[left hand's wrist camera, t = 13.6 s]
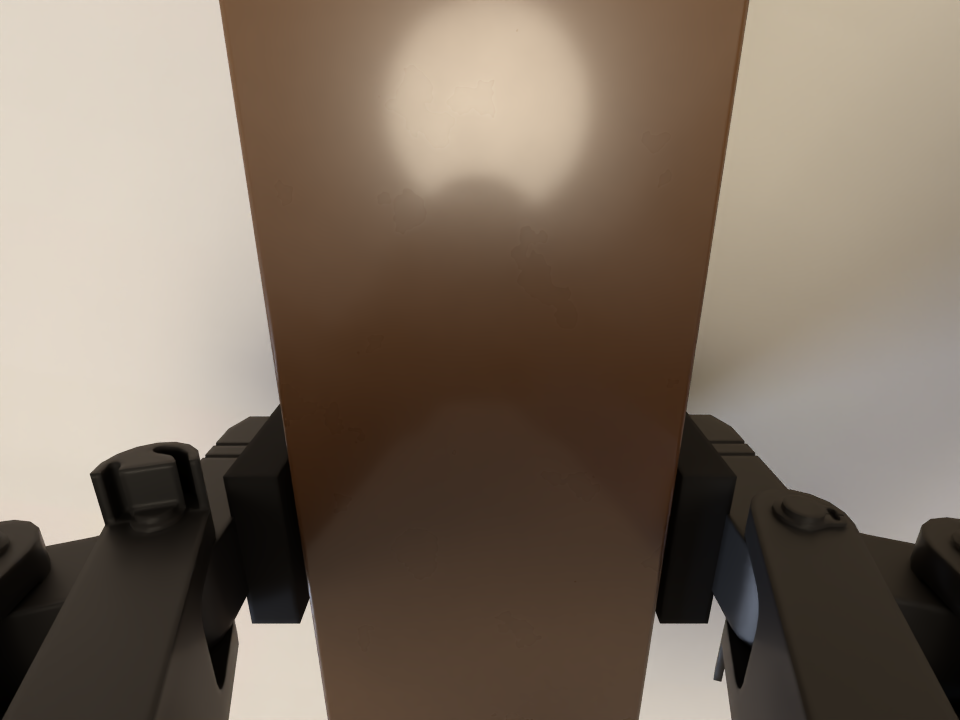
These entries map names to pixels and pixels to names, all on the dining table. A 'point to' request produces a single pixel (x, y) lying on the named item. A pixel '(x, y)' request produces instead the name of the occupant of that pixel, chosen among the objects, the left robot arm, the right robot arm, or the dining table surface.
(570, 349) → the bar
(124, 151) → the dining table surface
